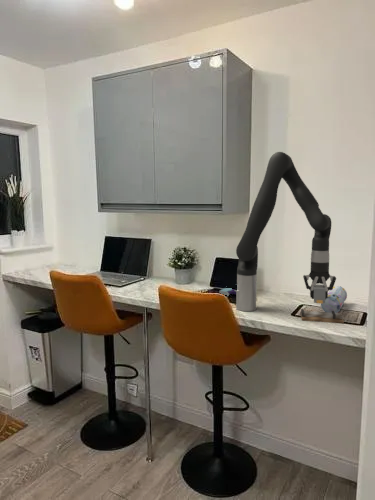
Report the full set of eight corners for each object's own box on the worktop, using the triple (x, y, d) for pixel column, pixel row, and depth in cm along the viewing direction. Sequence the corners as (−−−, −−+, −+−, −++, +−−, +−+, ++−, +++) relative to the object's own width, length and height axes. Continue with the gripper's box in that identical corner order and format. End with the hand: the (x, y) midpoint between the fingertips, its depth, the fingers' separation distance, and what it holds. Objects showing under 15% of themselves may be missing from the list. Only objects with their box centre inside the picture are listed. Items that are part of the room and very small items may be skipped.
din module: (314, 303, 156) (314, 288, 155) (312, 297, 164) (312, 284, 164) (325, 303, 155) (325, 289, 154) (323, 298, 163) (323, 284, 162)
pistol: (218, 297, 199) (228, 290, 212) (245, 300, 192) (254, 293, 205) (218, 289, 199) (228, 283, 212) (245, 293, 192) (254, 286, 205)
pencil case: (339, 316, 164) (340, 295, 162) (319, 313, 168) (320, 293, 167) (347, 304, 181) (348, 286, 180) (328, 302, 186) (329, 284, 184)
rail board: (301, 320, 158) (301, 313, 158) (300, 314, 167) (300, 307, 167) (343, 323, 154) (343, 316, 154) (340, 316, 163) (340, 310, 162)
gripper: (303, 261, 156) (302, 300, 158) (338, 262, 152) (337, 301, 155) (302, 258, 163) (301, 295, 165) (336, 259, 159) (334, 297, 162)
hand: (318, 298), depth 160 cm, fingers closed on din module, 4 cm apart
